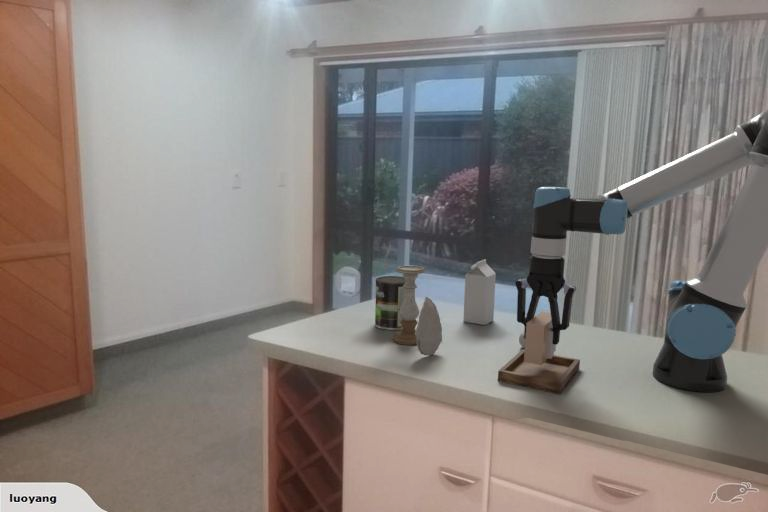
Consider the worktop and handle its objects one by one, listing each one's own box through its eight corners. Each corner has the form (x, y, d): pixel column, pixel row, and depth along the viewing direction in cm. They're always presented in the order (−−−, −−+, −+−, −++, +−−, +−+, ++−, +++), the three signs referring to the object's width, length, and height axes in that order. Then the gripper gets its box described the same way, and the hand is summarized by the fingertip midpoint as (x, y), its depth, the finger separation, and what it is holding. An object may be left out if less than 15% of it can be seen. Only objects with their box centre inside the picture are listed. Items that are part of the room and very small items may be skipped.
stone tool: (422, 361, 143) (424, 302, 140) (412, 358, 145) (413, 299, 142) (443, 352, 150) (445, 295, 147) (433, 349, 152) (435, 293, 149)
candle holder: (429, 343, 157) (432, 269, 153) (400, 346, 154) (401, 271, 150) (416, 334, 165) (418, 264, 161) (387, 337, 162) (389, 265, 158)
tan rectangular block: (555, 350, 138) (558, 314, 137) (541, 365, 128) (544, 326, 127) (538, 347, 140) (541, 311, 139) (523, 361, 130) (526, 323, 129)
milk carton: (493, 320, 180) (496, 260, 177) (484, 325, 174) (487, 263, 171) (472, 317, 184) (475, 258, 181) (463, 322, 178) (465, 261, 175)
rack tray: (579, 369, 139) (579, 359, 139) (560, 394, 124) (561, 383, 123) (522, 358, 146) (522, 349, 146) (497, 380, 131) (498, 370, 130)
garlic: (538, 353, 151) (539, 333, 150) (517, 350, 152) (518, 331, 152) (540, 346, 156) (541, 327, 155) (519, 343, 158) (520, 325, 157)
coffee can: (380, 331, 167) (381, 283, 164) (370, 322, 176) (371, 276, 174) (414, 329, 170) (415, 282, 168) (402, 319, 180) (403, 275, 177)
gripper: (590, 257, 129) (581, 357, 133) (515, 249, 138) (509, 344, 142) (582, 262, 123) (574, 367, 127) (505, 253, 131) (499, 352, 135)
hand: (540, 354), depth 134 cm, fingers closed on tan rectangular block, 4 cm apart
